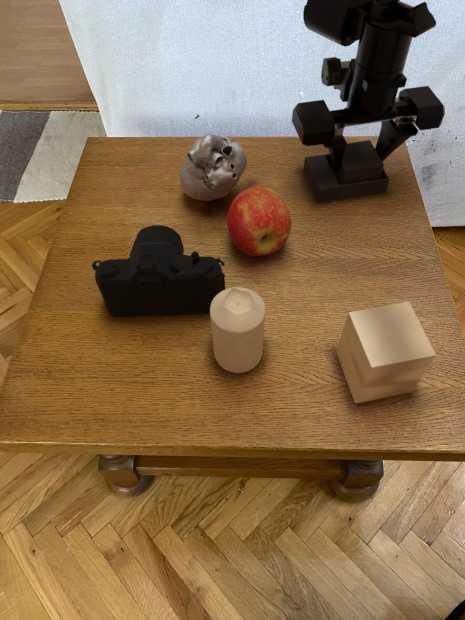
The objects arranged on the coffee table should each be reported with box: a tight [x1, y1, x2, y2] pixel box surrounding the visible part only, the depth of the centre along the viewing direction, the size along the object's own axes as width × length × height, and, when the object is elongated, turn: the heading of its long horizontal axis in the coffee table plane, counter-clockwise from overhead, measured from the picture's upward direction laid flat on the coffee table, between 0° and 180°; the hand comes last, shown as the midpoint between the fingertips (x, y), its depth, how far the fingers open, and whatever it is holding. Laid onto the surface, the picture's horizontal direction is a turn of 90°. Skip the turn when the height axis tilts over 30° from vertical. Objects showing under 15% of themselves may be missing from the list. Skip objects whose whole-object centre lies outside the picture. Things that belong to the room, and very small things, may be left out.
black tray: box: [302, 153, 390, 204], centre depth 70 cm, size 10×7×2 cm
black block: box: [330, 139, 385, 185], centre depth 69 cm, size 6×6×2 cm
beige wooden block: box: [335, 300, 437, 404], centre depth 50 cm, size 6×6×8 cm
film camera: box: [91, 224, 226, 317], centre depth 57 cm, size 15×10×9 cm, turn 91°
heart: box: [179, 133, 248, 202], centre depth 66 cm, size 10×10×12 cm
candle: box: [209, 286, 266, 374], centre depth 51 cm, size 6×6×10 cm
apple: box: [226, 186, 293, 257], centre depth 61 cm, size 8×8×8 cm
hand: (355, 168), depth 70 cm, fingers closed on black block, 5 cm apart
